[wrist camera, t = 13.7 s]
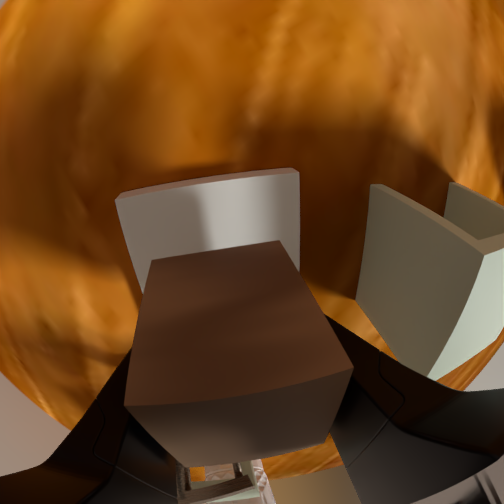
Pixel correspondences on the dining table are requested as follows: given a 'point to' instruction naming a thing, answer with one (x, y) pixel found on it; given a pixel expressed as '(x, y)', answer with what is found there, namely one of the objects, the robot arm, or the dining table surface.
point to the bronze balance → (193, 499)
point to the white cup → (226, 472)
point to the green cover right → (433, 277)
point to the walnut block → (233, 357)
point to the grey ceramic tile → (211, 215)
